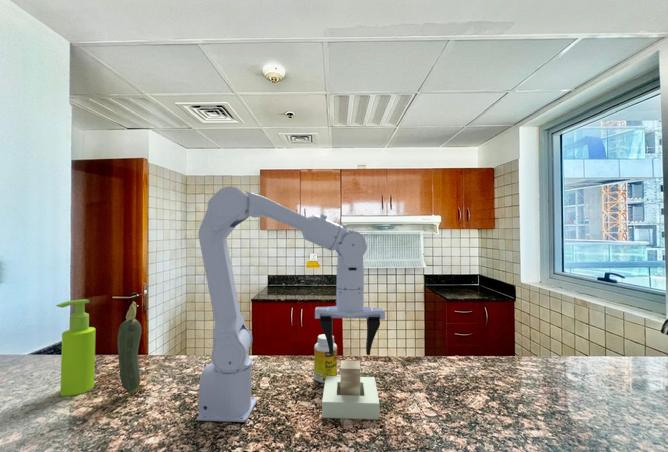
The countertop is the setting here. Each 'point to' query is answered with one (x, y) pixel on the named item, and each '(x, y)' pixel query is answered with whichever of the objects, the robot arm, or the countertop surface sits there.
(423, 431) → the countertop surface
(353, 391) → the peg
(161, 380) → the countertop surface
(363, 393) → the socket block
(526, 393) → the countertop surface
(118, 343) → the vegetable
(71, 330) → the soap dispenser
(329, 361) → the supplement bottle
